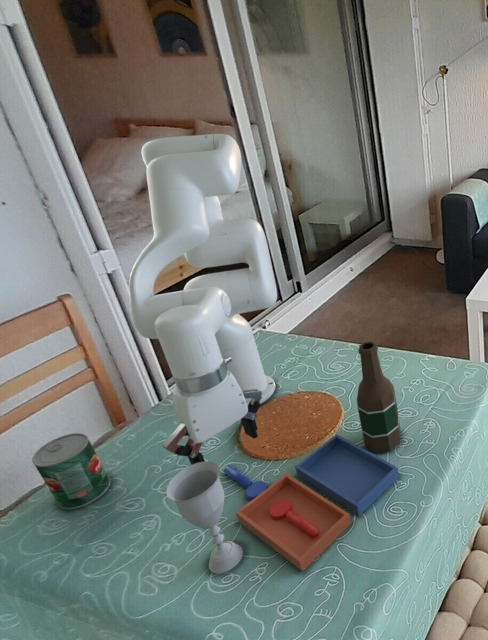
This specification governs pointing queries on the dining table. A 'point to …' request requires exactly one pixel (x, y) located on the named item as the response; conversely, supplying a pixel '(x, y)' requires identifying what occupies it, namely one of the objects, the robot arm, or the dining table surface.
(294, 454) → the dining table surface
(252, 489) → the blue spoon
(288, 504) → the red spoon
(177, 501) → the chalice
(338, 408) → the dining table surface
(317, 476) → the blue tray
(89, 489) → the canned tomato
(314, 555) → the terracotta tray
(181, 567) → the dining table surface
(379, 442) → the beer bottle
